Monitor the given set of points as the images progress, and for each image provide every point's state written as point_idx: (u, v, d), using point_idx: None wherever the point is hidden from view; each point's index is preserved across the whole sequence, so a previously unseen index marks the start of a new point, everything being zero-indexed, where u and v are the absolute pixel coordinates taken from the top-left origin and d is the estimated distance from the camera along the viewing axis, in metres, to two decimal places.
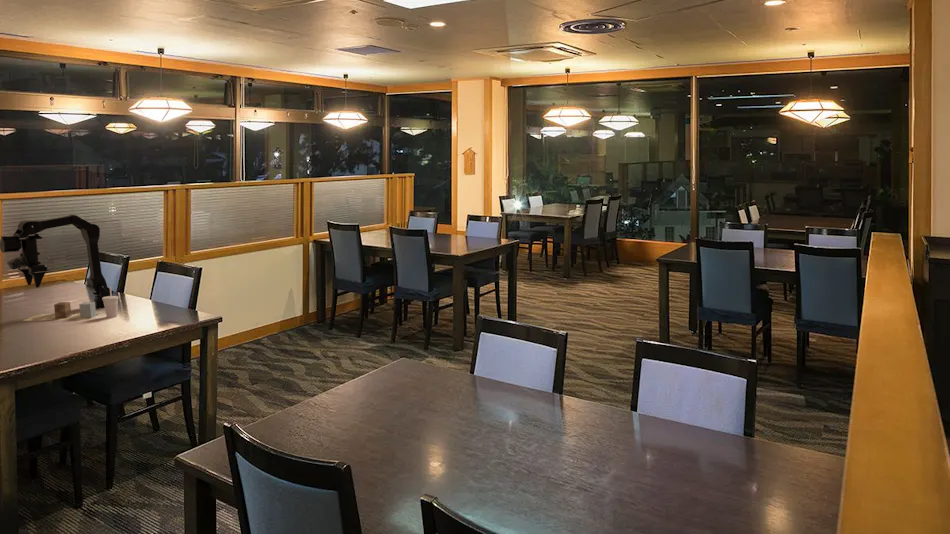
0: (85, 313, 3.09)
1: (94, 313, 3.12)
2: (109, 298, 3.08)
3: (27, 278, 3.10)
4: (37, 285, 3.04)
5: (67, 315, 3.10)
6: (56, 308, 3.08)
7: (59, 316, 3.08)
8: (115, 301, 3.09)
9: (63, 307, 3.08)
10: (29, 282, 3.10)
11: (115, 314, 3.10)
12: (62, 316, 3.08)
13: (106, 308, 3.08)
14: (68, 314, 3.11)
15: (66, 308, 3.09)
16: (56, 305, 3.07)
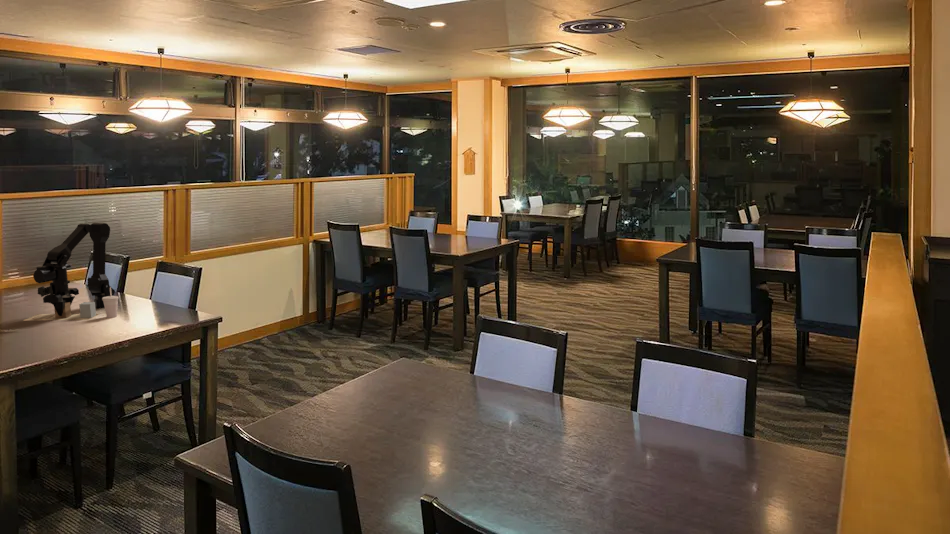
0: (85, 313, 3.09)
1: (94, 313, 3.12)
2: (109, 298, 3.08)
3: None
4: (59, 314, 3.07)
5: (67, 315, 3.10)
6: None
7: (59, 316, 3.08)
8: (115, 301, 3.09)
9: None
10: None
11: (115, 314, 3.10)
12: (62, 316, 3.08)
13: (106, 308, 3.08)
14: (68, 314, 3.11)
15: (66, 308, 3.09)
16: None
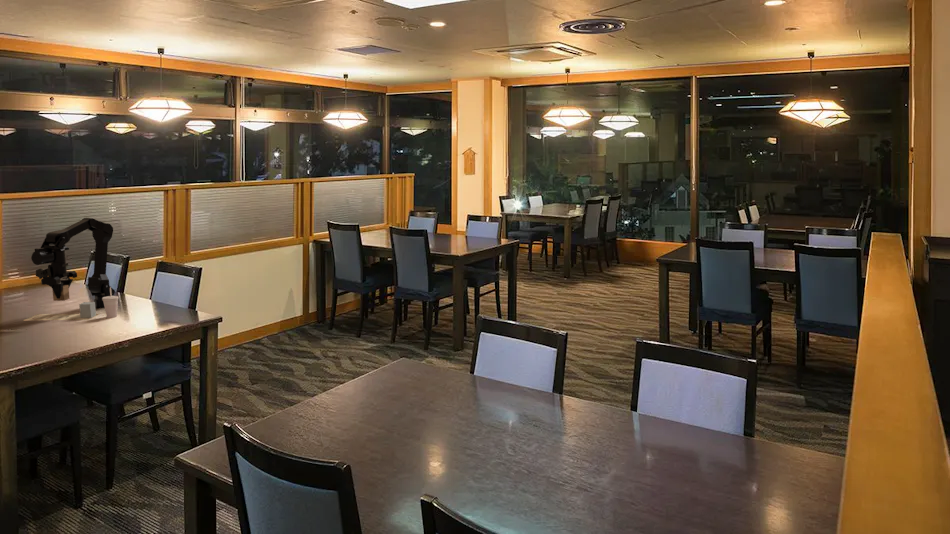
0: (85, 313, 3.09)
1: (94, 313, 3.12)
2: (109, 298, 3.08)
3: None
4: (57, 296, 3.06)
5: (65, 298, 3.08)
6: None
7: (57, 299, 3.07)
8: (115, 301, 3.09)
9: None
10: None
11: (115, 314, 3.10)
12: (60, 299, 3.07)
13: (106, 308, 3.08)
14: (66, 297, 3.09)
15: (65, 291, 3.08)
16: None
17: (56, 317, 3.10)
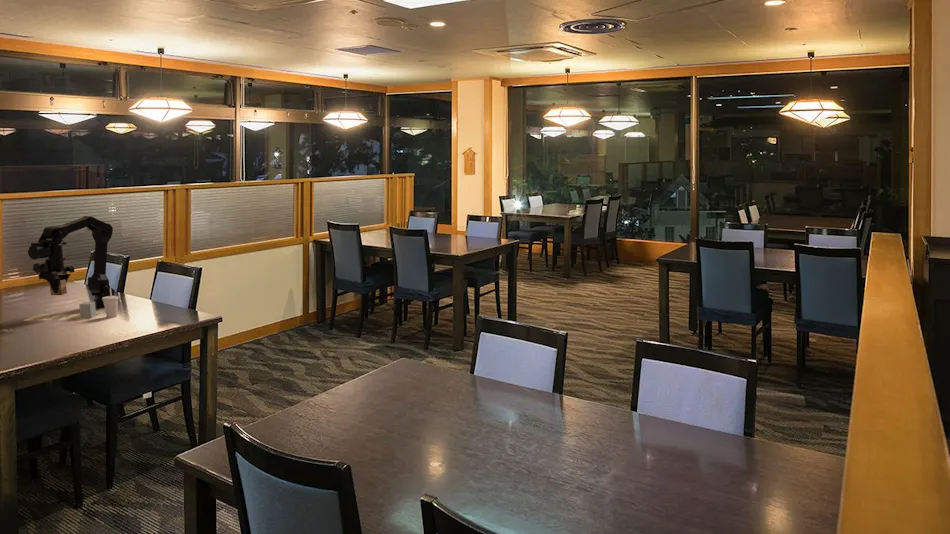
0: (85, 313, 3.09)
1: (94, 313, 3.12)
2: (109, 298, 3.08)
3: None
4: (54, 291, 3.06)
5: (63, 292, 3.08)
6: None
7: (55, 293, 3.07)
8: (115, 301, 3.09)
9: None
10: None
11: (115, 314, 3.10)
12: (57, 293, 3.07)
13: (106, 308, 3.08)
14: (64, 291, 3.09)
15: (62, 285, 3.08)
16: None
17: (56, 317, 3.10)
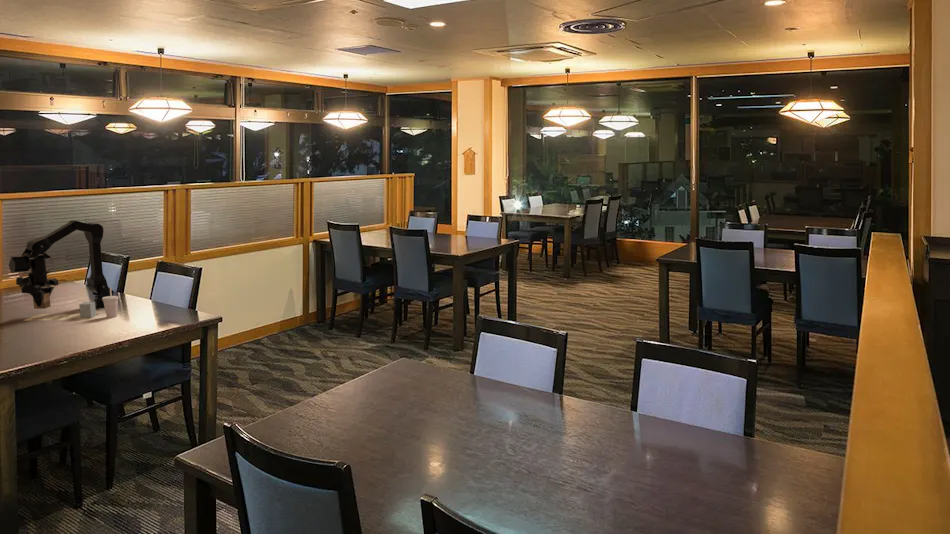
0: (85, 313, 3.09)
1: (94, 313, 3.12)
2: (109, 298, 3.08)
3: None
4: (38, 304, 3.06)
5: (46, 306, 3.09)
6: None
7: None
8: (115, 301, 3.09)
9: None
10: None
11: (115, 314, 3.10)
12: (41, 307, 3.07)
13: (106, 308, 3.08)
14: (47, 305, 3.09)
15: (45, 299, 3.08)
16: None
17: (56, 317, 3.10)
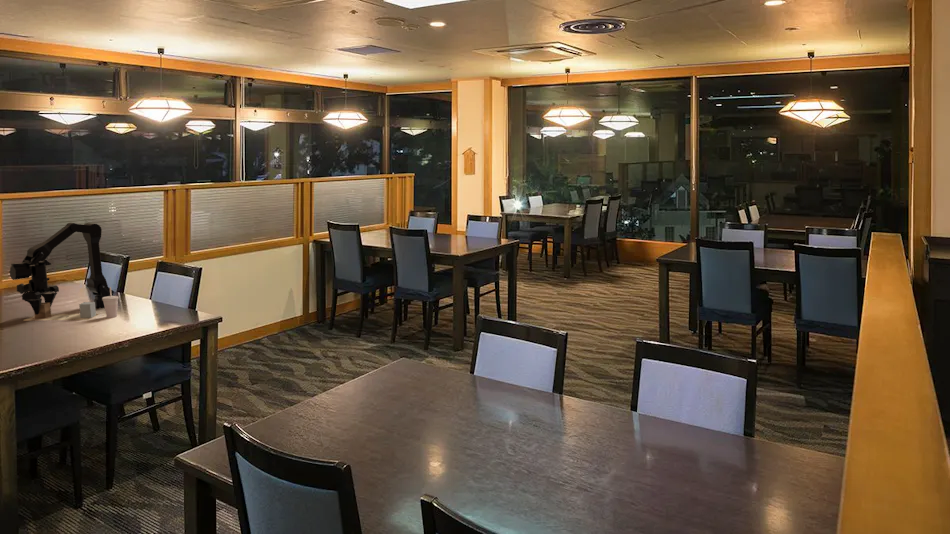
0: (85, 313, 3.09)
1: (94, 313, 3.12)
2: (109, 298, 3.08)
3: None
4: (36, 312, 3.05)
5: (47, 315, 3.09)
6: None
7: (39, 316, 3.08)
8: (115, 301, 3.09)
9: (42, 308, 3.07)
10: None
11: (115, 314, 3.10)
12: (42, 316, 3.08)
13: (106, 308, 3.08)
14: (48, 314, 3.10)
15: (46, 308, 3.09)
16: None
17: (56, 317, 3.10)
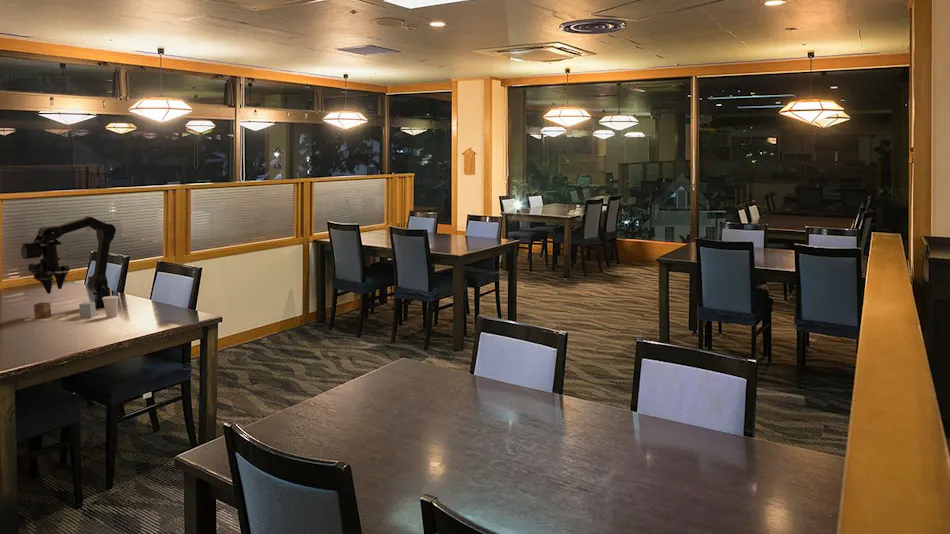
0: (85, 313, 3.09)
1: (94, 313, 3.12)
2: (109, 298, 3.08)
3: (57, 282, 3.17)
4: (47, 291, 3.08)
5: (47, 315, 3.09)
6: (35, 308, 3.07)
7: (39, 316, 3.08)
8: (115, 301, 3.09)
9: (42, 308, 3.07)
10: (59, 286, 3.17)
11: (115, 314, 3.10)
12: (42, 316, 3.08)
13: (106, 308, 3.08)
14: (48, 314, 3.10)
15: (46, 308, 3.09)
16: (36, 305, 3.07)
17: (56, 317, 3.10)
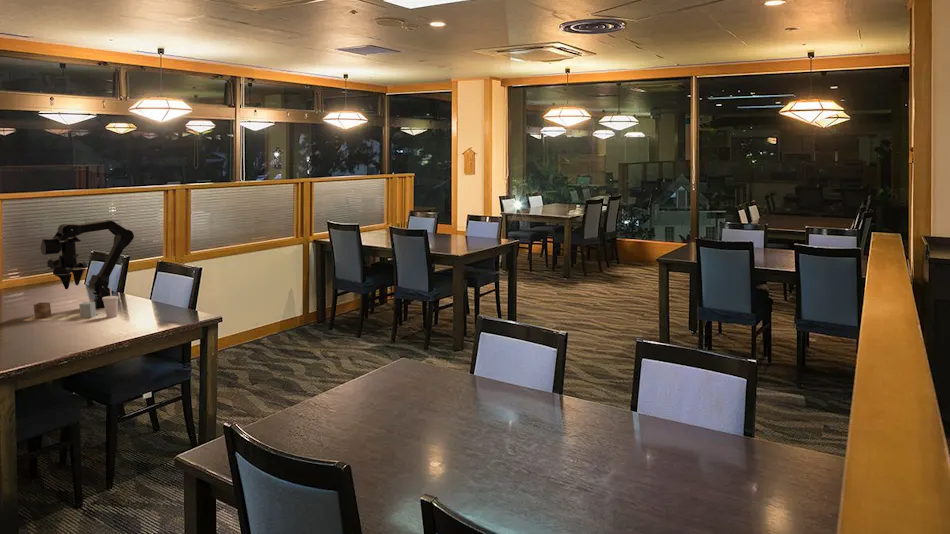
0: (85, 313, 3.09)
1: (94, 313, 3.12)
2: (109, 298, 3.08)
3: (75, 278, 3.24)
4: (65, 287, 3.15)
5: (47, 315, 3.09)
6: (35, 308, 3.07)
7: (39, 316, 3.08)
8: (115, 301, 3.09)
9: (42, 308, 3.07)
10: (76, 282, 3.24)
11: (115, 314, 3.10)
12: (42, 316, 3.08)
13: (106, 308, 3.08)
14: (48, 314, 3.10)
15: (46, 308, 3.09)
16: (36, 305, 3.07)
17: (56, 317, 3.10)
